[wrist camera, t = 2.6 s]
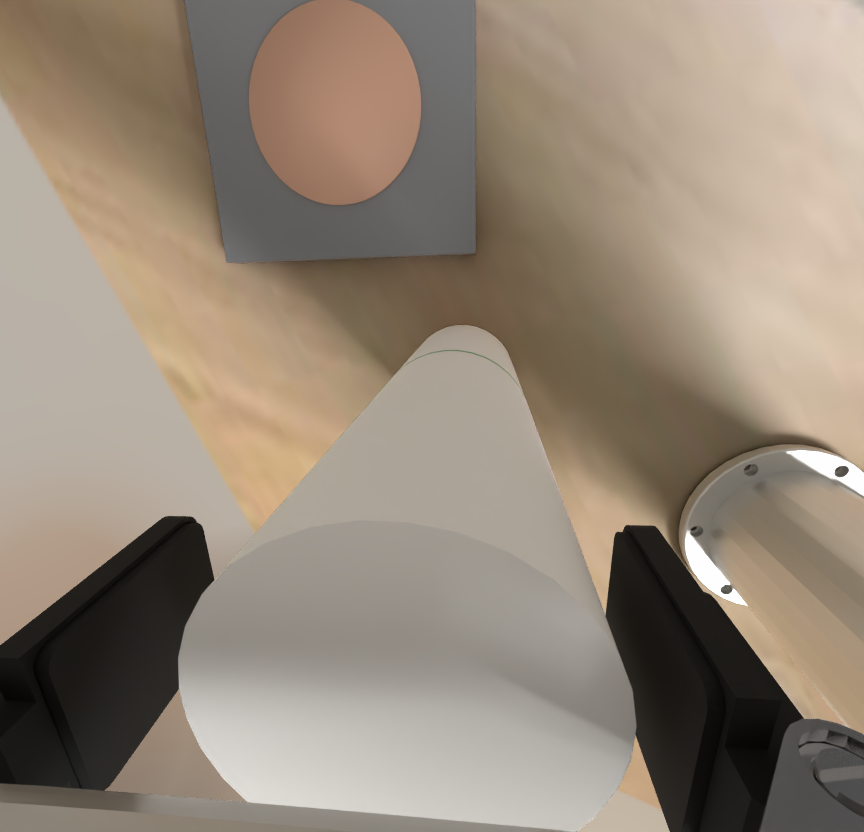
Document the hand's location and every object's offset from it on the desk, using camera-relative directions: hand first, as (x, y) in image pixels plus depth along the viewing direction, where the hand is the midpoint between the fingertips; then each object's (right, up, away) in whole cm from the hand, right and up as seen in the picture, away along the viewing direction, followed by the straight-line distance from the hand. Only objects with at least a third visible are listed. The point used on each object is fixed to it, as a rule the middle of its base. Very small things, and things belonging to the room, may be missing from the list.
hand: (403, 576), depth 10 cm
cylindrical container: (+3, +6, +21) cm, 22 cm away
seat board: (-5, +22, +17) cm, 28 cm away
